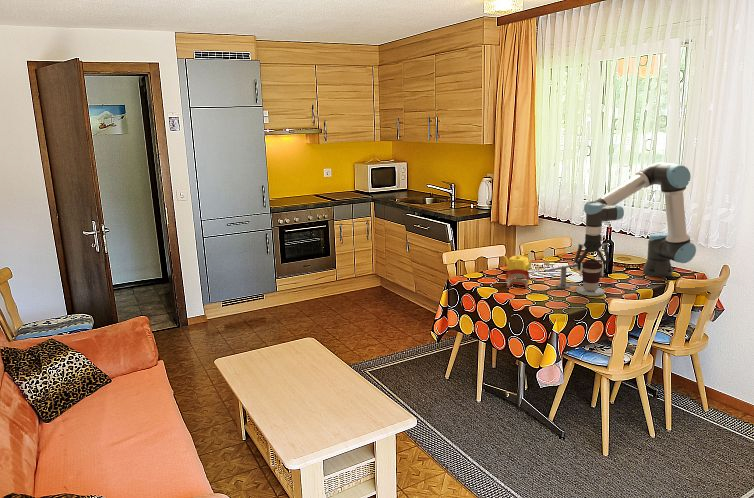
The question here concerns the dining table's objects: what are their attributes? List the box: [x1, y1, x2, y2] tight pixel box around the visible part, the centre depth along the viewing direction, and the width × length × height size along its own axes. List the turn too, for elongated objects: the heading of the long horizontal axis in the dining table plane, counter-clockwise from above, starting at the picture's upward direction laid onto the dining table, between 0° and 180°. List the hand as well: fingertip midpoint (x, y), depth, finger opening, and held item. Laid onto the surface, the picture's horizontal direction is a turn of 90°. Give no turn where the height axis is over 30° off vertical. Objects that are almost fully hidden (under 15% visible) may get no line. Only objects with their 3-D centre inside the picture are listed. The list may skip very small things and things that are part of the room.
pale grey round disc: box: [575, 286, 606, 297], centre depth 291 cm, size 14×14×1 cm
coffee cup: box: [581, 259, 602, 291], centre depth 289 cm, size 10×10×15 cm
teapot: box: [502, 253, 535, 272], centre depth 332 cm, size 15×14×10 cm
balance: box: [543, 261, 583, 289], centre depth 301 cm, size 21×6×13 cm, turn 82°
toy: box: [505, 269, 530, 290], centre depth 307 cm, size 12×10×8 cm
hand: (591, 275), depth 289 cm, fingers closed on coffee cup, 10 cm apart
